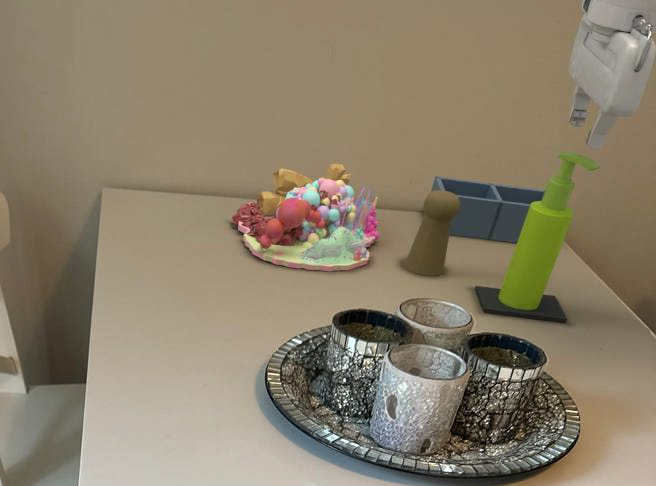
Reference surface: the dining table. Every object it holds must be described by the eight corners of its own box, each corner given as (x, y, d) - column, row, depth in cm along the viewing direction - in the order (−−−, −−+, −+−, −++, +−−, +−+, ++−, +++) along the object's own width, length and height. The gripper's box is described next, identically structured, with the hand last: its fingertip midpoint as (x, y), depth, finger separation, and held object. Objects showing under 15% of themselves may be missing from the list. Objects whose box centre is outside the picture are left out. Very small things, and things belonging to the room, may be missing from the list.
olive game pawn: (421, 256, 144) (441, 183, 137) (451, 271, 141) (474, 196, 133) (396, 263, 141) (416, 189, 133) (426, 278, 138) (448, 203, 130)
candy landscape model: (214, 208, 151) (222, 148, 144) (344, 209, 157) (357, 150, 150) (264, 272, 134) (275, 207, 127) (407, 270, 140) (425, 207, 133)
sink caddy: (534, 226, 159) (547, 190, 155) (546, 246, 153) (559, 209, 149) (425, 212, 159) (435, 176, 155) (431, 232, 153) (442, 194, 148)
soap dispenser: (529, 316, 130) (586, 166, 116) (490, 297, 134) (541, 149, 120) (552, 307, 133) (610, 160, 119) (513, 289, 137) (565, 144, 123)
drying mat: (553, 299, 137) (554, 295, 137) (565, 323, 131) (567, 319, 131) (474, 289, 137) (475, 285, 137) (483, 312, 131) (484, 308, 131)
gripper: (683, 30, 101) (630, 164, 111) (631, -5, 116) (588, 116, 125) (627, 23, 101) (578, 158, 111) (582, -10, 116) (543, 111, 125)
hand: (583, 135), depth 118 cm, fingers open, 8 cm apart
